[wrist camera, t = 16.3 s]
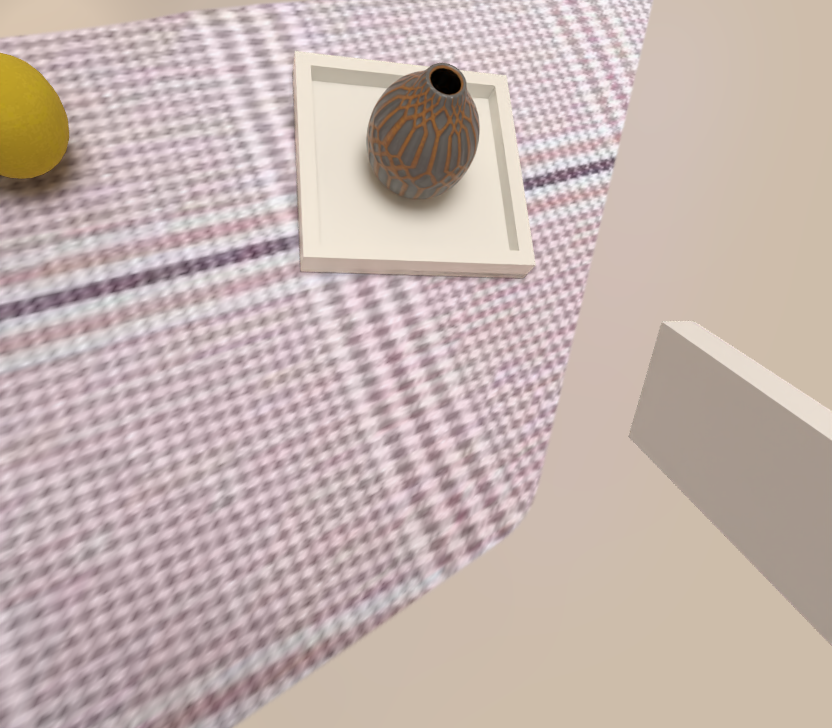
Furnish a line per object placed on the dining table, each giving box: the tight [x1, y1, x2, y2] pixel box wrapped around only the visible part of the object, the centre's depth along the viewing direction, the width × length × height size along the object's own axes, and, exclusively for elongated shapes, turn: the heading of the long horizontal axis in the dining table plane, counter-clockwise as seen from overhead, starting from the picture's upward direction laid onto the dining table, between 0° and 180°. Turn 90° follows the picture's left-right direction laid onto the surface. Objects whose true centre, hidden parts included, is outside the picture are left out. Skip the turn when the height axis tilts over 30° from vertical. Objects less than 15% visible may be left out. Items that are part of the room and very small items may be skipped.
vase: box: [366, 63, 480, 199], centre depth 41 cm, size 7×7×9 cm
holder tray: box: [293, 51, 536, 278], centre depth 45 cm, size 15×15×2 cm
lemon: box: [0, 53, 69, 179], centre depth 36 cm, size 6×6×8 cm
